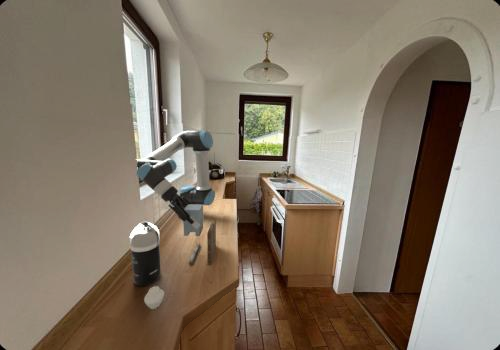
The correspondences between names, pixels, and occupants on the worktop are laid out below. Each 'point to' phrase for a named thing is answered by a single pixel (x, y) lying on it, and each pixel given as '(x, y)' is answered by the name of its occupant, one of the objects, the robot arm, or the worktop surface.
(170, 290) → the worktop surface
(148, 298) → the white rock
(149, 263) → the black white bottle
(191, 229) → the mini cabinet
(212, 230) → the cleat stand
